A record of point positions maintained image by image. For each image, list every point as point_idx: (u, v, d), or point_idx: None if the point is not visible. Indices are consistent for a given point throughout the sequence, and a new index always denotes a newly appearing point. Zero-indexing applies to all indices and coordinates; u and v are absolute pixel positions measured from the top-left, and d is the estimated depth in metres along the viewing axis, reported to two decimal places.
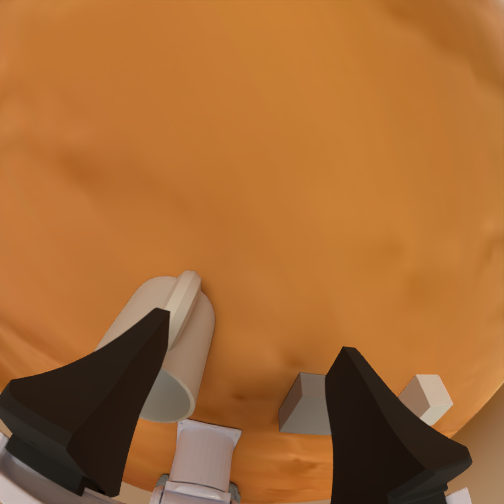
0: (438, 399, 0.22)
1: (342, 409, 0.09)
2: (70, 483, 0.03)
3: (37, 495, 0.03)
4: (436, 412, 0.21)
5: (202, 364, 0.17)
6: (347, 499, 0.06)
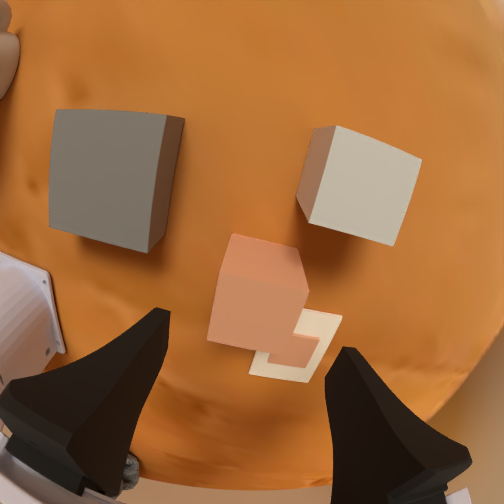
0: None
1: (342, 409, 0.09)
2: (70, 483, 0.03)
3: (37, 495, 0.03)
4: (377, 173, 0.10)
5: None
6: (347, 499, 0.06)
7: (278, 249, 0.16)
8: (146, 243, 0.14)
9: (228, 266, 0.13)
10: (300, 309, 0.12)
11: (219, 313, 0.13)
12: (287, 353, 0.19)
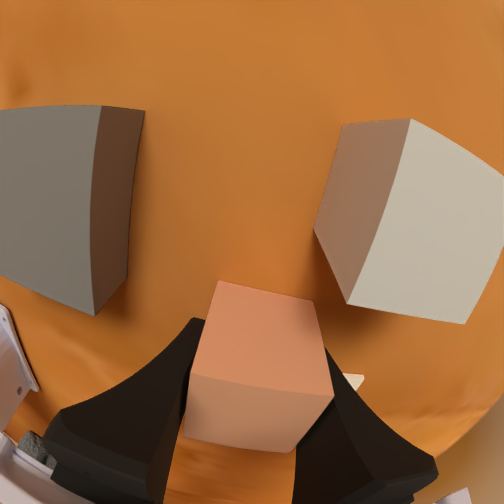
0: None
1: None
2: (70, 483, 0.03)
3: (37, 495, 0.03)
4: (467, 213, 0.05)
5: None
6: (305, 502, 0.06)
7: (286, 306, 0.11)
8: (91, 303, 0.08)
9: (205, 358, 0.07)
10: (317, 414, 0.07)
11: (196, 415, 0.07)
12: None
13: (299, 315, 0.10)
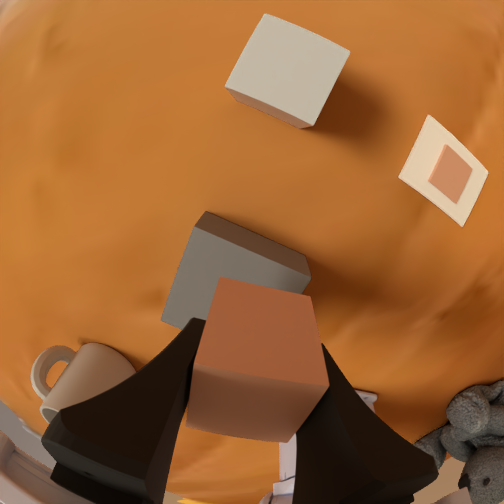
0: None
1: None
2: (70, 483, 0.03)
3: (37, 495, 0.03)
4: (274, 55, 0.09)
5: (74, 386, 0.17)
6: (305, 502, 0.06)
7: (284, 301, 0.11)
8: (302, 275, 0.15)
9: (208, 349, 0.08)
10: (314, 403, 0.08)
11: (199, 405, 0.08)
12: (452, 180, 0.15)
13: (297, 310, 0.11)
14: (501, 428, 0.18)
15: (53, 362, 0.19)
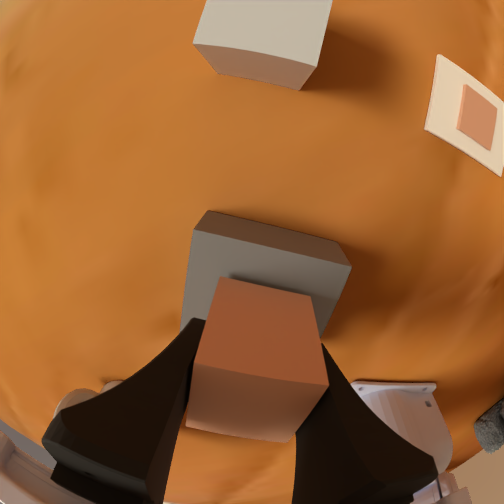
0: None
1: None
2: (70, 483, 0.03)
3: (37, 495, 0.03)
4: None
5: None
6: (305, 502, 0.06)
7: (284, 301, 0.11)
8: (340, 266, 0.12)
9: (208, 348, 0.08)
10: (313, 403, 0.08)
11: (199, 404, 0.08)
12: (481, 124, 0.10)
13: (297, 309, 0.11)
14: None
15: None
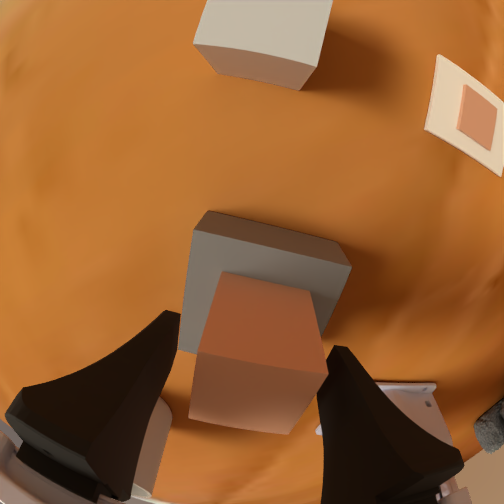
0: None
1: (332, 409, 0.09)
2: (70, 483, 0.03)
3: (37, 495, 0.03)
4: None
5: None
6: (336, 500, 0.06)
7: (284, 295, 0.12)
8: (340, 266, 0.12)
9: (211, 338, 0.08)
10: (313, 392, 0.08)
11: (202, 394, 0.08)
12: (481, 124, 0.10)
13: (296, 303, 0.11)
14: None
15: None
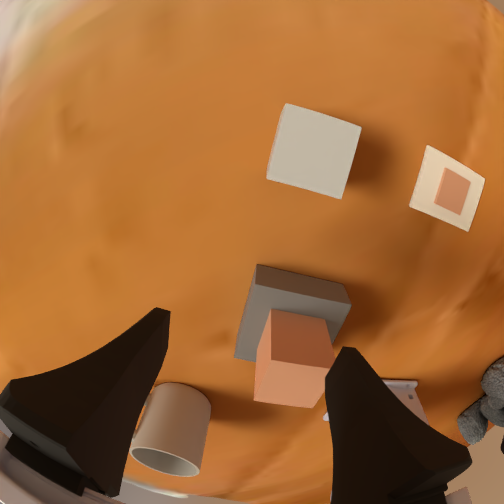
0: (274, 144, 0.14)
1: (342, 409, 0.09)
2: (70, 483, 0.03)
3: (37, 495, 0.03)
4: (301, 144, 0.13)
5: (160, 424, 0.22)
6: (347, 499, 0.06)
7: (310, 323, 0.18)
8: (344, 304, 0.19)
9: (276, 352, 0.15)
10: None
11: (267, 384, 0.15)
12: (454, 197, 0.17)
13: (318, 328, 0.18)
14: None
15: None
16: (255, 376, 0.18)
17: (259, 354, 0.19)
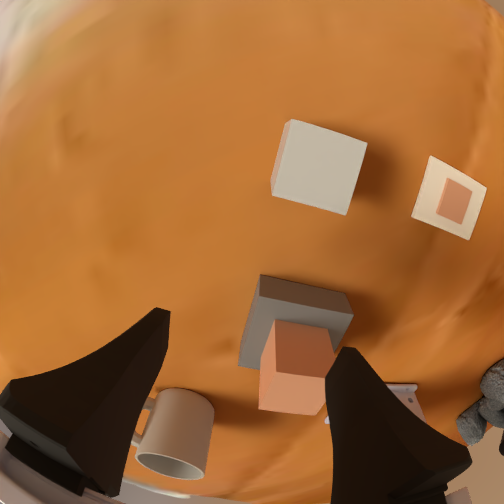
0: (280, 159, 0.14)
1: (342, 409, 0.09)
2: (70, 483, 0.03)
3: (37, 495, 0.03)
4: (307, 161, 0.13)
5: (165, 430, 0.22)
6: (347, 499, 0.06)
7: (313, 333, 0.18)
8: (346, 314, 0.19)
9: (280, 364, 0.15)
10: None
11: (271, 394, 0.15)
12: (456, 207, 0.17)
13: (320, 338, 0.18)
14: None
15: None
16: None
17: (263, 363, 0.19)
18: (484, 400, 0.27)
